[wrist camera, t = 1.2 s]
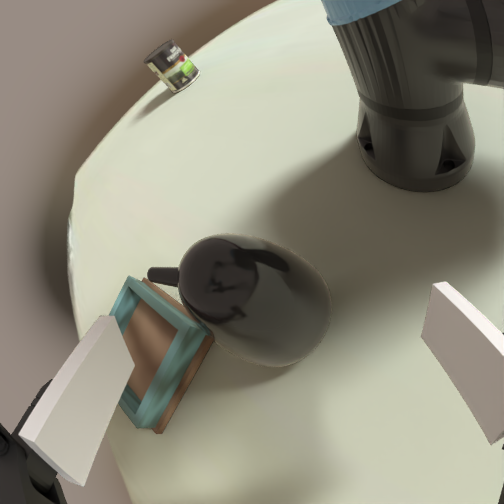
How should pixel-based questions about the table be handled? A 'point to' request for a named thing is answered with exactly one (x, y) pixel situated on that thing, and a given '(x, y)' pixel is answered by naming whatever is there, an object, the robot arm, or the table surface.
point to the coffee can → (172, 66)
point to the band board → (156, 352)
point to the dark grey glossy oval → (252, 297)
